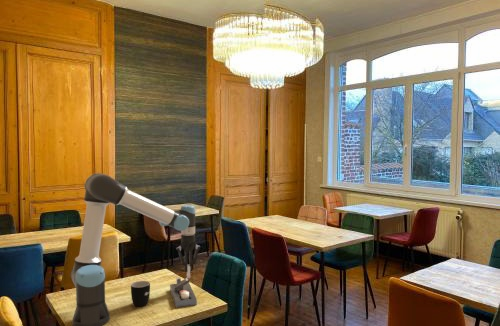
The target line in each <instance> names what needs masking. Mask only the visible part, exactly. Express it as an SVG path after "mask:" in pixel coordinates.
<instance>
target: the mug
mask: <svg viewBox="0 0 500 326" xmlns="http://www.w3.org/2000/svg"><path fill="white" fill-rule="evenodd" d="M150 293H151V282H150V281H148V280H139V281H135V282H132V283H131V284H130V295H131V301H132V304H133V306H134V307H136V308H142V307H145V306H148V303H149V301H150Z"/></svg>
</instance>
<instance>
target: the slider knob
mask: <svg viewBox="0 0 500 326" xmlns="http://www.w3.org/2000/svg"><path fill="white" fill-rule="evenodd" d="M175 279H176V281H175V284H177V283H179V282H181V281H182V279H181V277H180V276H178V277H177V276H176V277H175Z"/></svg>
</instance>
